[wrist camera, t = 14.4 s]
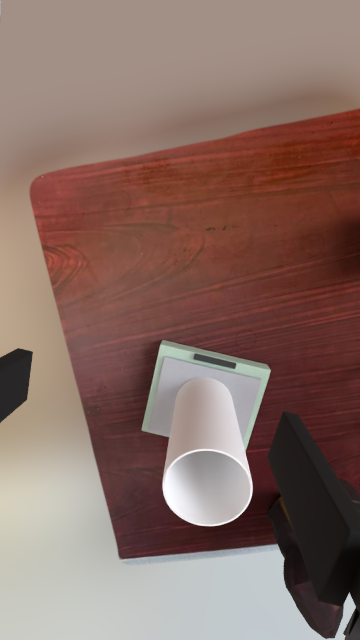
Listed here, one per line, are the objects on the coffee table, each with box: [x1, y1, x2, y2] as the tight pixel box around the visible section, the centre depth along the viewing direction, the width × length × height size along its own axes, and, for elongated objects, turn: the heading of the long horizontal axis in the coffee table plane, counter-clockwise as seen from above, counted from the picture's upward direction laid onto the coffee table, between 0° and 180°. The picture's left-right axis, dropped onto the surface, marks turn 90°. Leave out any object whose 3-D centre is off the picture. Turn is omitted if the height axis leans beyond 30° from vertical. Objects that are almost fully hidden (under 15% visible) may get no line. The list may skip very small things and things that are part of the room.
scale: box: [142, 340, 271, 452], centre depth 44 cm, size 16×14×3 cm
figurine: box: [268, 497, 343, 639], centre depth 41 cm, size 10×7×15 cm
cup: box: [163, 377, 253, 526], centre depth 34 cm, size 8×8×16 cm
